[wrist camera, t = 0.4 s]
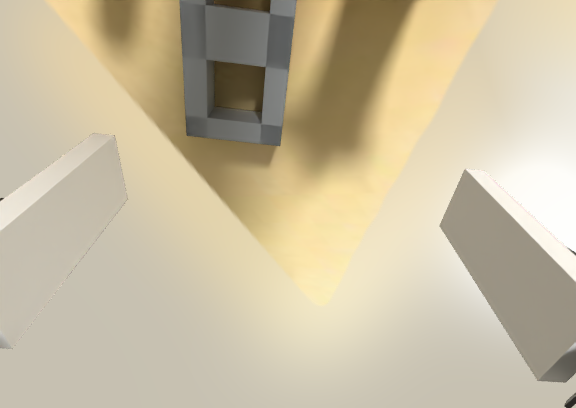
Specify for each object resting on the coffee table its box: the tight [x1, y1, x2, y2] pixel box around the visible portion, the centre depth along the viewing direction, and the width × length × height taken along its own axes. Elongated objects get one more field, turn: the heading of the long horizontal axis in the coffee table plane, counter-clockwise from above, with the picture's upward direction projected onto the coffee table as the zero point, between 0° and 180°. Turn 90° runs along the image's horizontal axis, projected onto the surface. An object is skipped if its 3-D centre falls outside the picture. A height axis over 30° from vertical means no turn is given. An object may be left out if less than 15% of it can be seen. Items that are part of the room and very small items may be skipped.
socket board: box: [180, 0, 297, 146], centre depth 31 cm, size 20×10×4 cm, turn 173°
